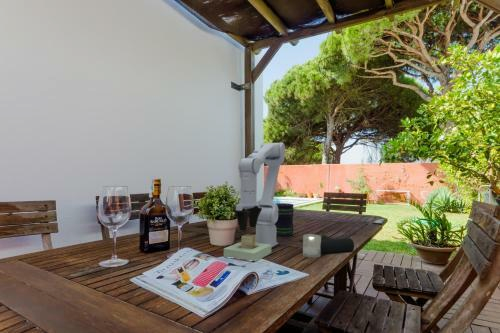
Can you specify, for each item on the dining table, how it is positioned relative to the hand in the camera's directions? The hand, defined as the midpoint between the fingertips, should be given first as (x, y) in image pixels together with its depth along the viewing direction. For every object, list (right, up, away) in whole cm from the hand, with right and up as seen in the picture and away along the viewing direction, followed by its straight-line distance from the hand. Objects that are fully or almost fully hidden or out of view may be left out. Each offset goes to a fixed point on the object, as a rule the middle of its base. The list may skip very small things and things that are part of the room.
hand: (248, 228), depth 109 cm
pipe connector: (+32, -11, +9) cm, 35 cm away
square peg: (0, -9, -1) cm, 9 cm away
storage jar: (+16, -11, +35) cm, 40 cm away
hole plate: (0, -9, 0) cm, 9 cm away
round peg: (+23, -10, +1) cm, 25 cm away
